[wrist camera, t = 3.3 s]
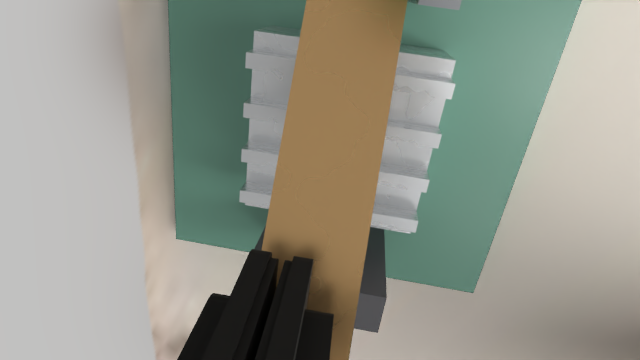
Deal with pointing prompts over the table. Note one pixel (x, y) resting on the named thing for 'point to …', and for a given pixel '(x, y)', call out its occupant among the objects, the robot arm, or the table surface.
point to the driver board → (445, 162)
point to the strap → (334, 150)
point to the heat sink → (401, 133)
